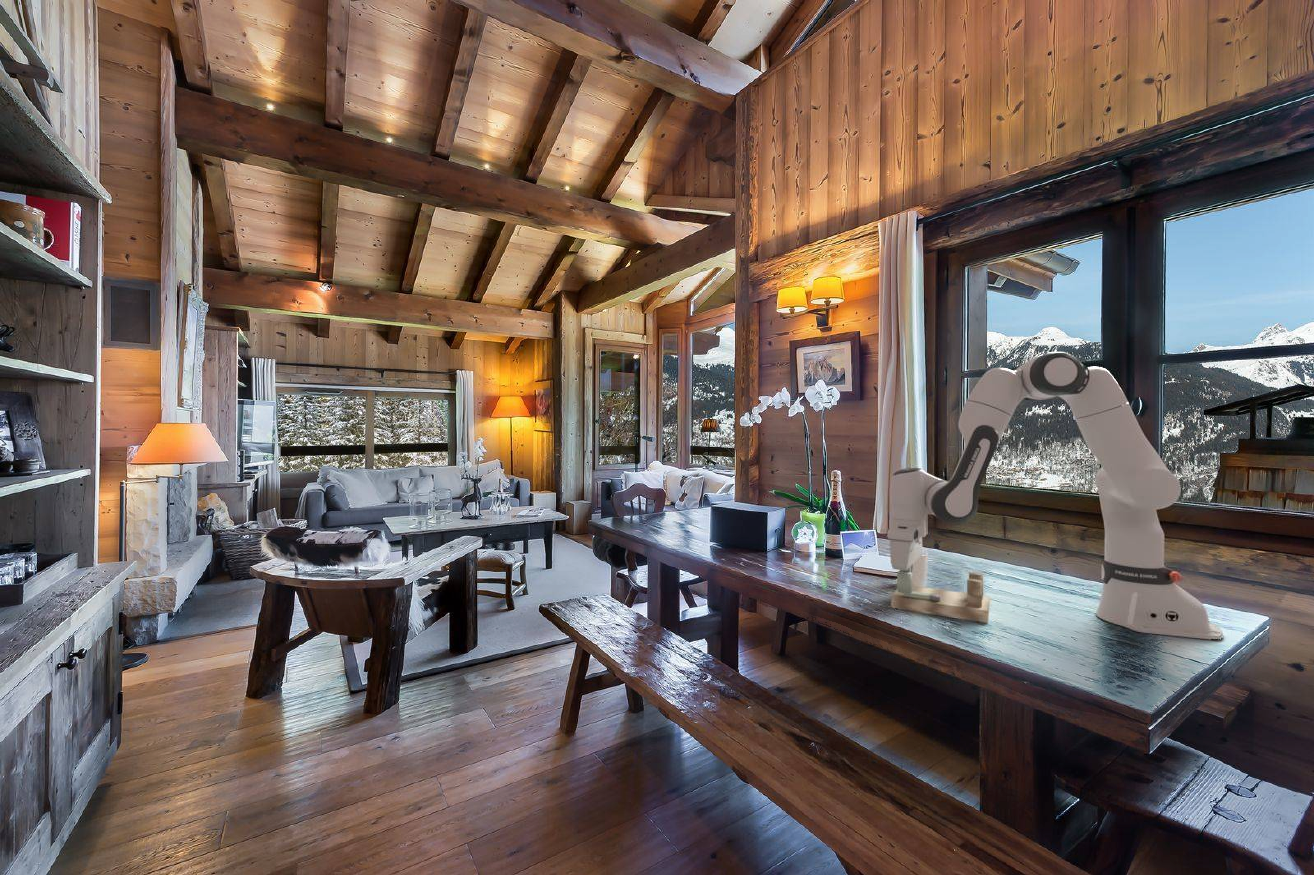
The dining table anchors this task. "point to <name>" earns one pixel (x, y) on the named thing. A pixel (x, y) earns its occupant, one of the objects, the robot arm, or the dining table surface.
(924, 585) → the white cup
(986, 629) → the dining table surface
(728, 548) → the dining table surface
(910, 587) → the folding leg
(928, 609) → the wooden base with posts
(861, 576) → the dining table surface
